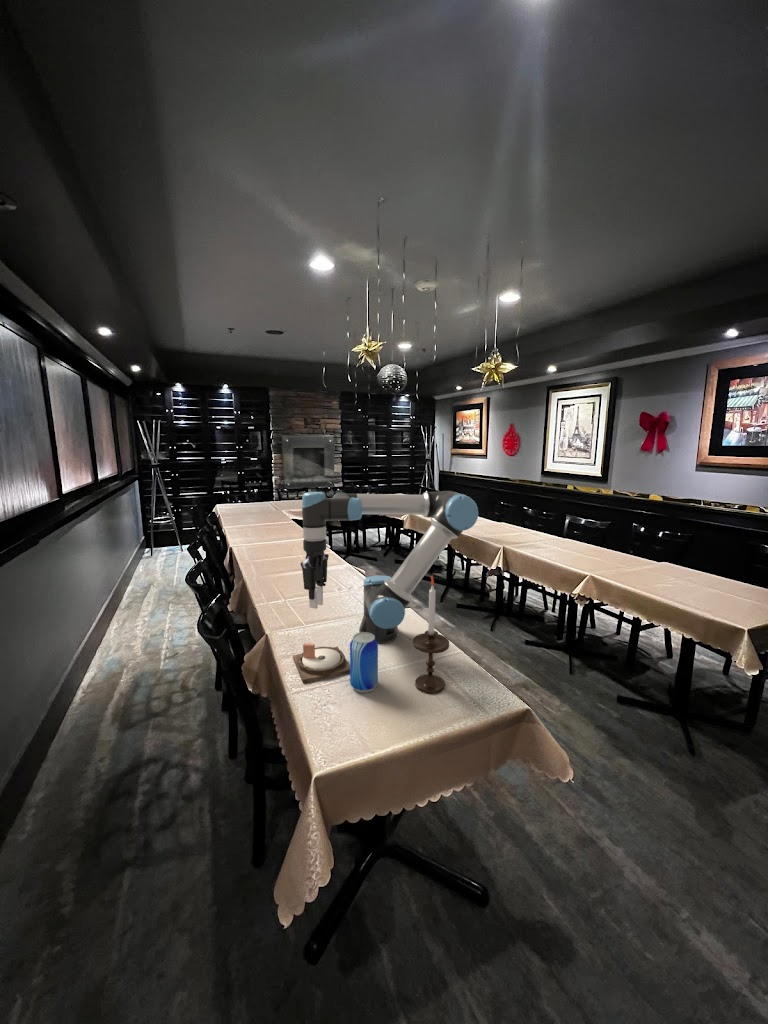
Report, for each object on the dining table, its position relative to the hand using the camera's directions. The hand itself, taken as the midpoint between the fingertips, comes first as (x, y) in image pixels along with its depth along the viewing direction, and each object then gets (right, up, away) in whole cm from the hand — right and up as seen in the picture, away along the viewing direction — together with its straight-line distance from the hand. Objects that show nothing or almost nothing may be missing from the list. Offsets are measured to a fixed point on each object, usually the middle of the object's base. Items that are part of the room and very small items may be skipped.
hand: (316, 605), depth 137 cm
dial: (+2, -18, -3) cm, 18 cm away
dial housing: (+2, -19, -3) cm, 20 cm away
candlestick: (+37, -21, -14) cm, 45 cm away
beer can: (+17, -21, -14) cm, 31 cm away
